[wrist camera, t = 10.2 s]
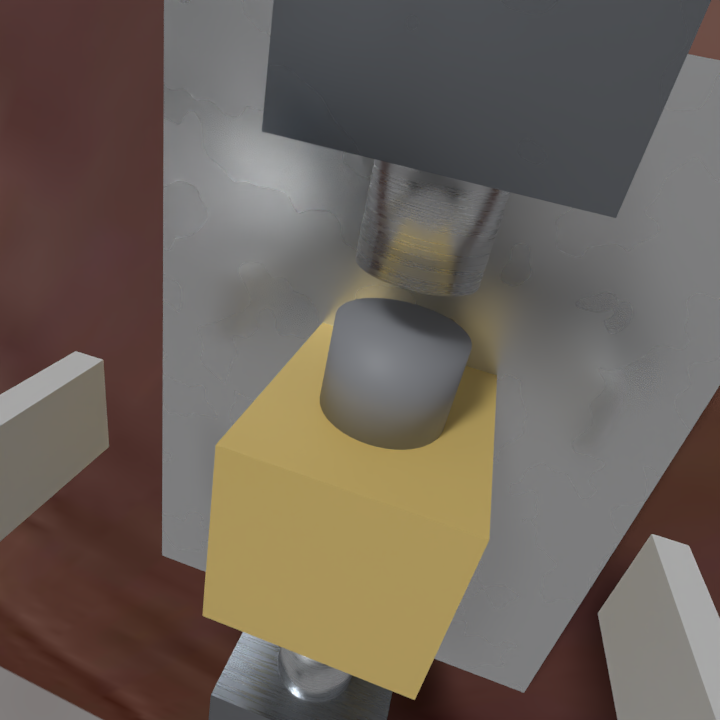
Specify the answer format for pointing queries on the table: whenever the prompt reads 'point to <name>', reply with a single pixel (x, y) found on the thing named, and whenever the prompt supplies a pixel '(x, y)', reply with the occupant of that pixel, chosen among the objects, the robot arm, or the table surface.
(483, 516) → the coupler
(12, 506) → the robot arm
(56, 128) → the table surface
